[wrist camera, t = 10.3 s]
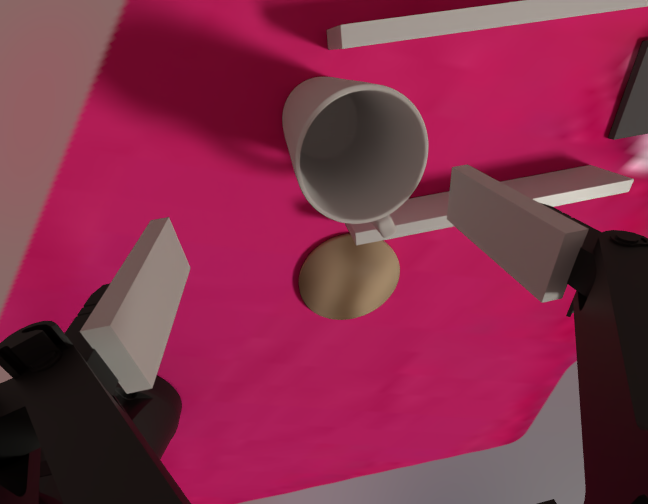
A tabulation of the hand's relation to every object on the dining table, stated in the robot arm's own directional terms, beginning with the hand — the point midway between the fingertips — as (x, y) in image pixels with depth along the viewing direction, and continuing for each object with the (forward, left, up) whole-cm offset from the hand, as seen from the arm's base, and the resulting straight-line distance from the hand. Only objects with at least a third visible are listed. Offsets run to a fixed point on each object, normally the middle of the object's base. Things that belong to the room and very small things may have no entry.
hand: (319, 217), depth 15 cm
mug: (+3, 0, -14) cm, 14 cm away
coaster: (+4, -15, -14) cm, 20 cm away
